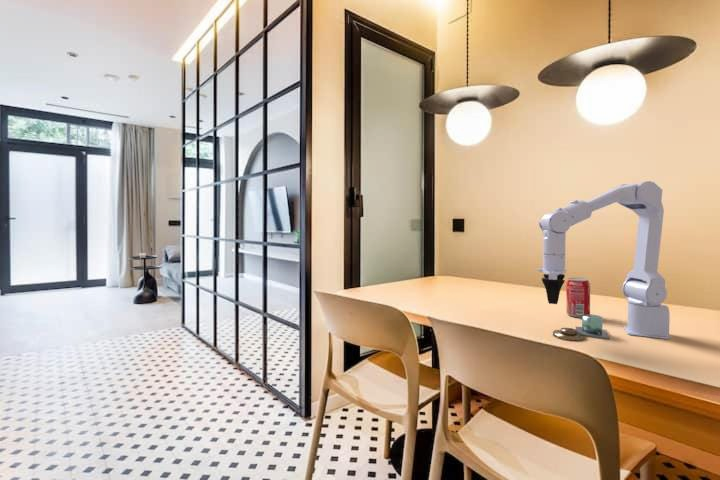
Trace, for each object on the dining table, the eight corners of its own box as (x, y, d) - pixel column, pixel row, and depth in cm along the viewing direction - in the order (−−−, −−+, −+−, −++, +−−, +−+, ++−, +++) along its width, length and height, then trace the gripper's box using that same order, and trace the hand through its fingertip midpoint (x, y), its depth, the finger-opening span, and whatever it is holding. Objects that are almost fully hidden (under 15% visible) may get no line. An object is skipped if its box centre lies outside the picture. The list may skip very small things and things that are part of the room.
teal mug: (607, 335, 104) (608, 319, 104) (589, 335, 105) (590, 319, 104) (594, 328, 111) (594, 313, 111) (577, 328, 111) (577, 313, 111)
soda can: (593, 319, 123) (594, 280, 123) (570, 318, 125) (570, 280, 124) (585, 313, 130) (585, 277, 130) (563, 312, 132) (563, 277, 131)
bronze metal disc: (584, 334, 107) (584, 327, 107) (585, 342, 100) (585, 335, 100) (553, 330, 111) (553, 324, 111) (552, 338, 104) (552, 331, 104)
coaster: (606, 331, 109) (606, 329, 109) (609, 339, 102) (609, 337, 102) (575, 328, 113) (575, 326, 113) (576, 335, 106) (576, 333, 106)
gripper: (540, 251, 114) (539, 295, 114) (536, 256, 101) (536, 304, 102) (566, 252, 110) (565, 297, 111) (566, 256, 98) (565, 307, 98)
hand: (553, 300), depth 106 cm, fingers open, 7 cm apart
